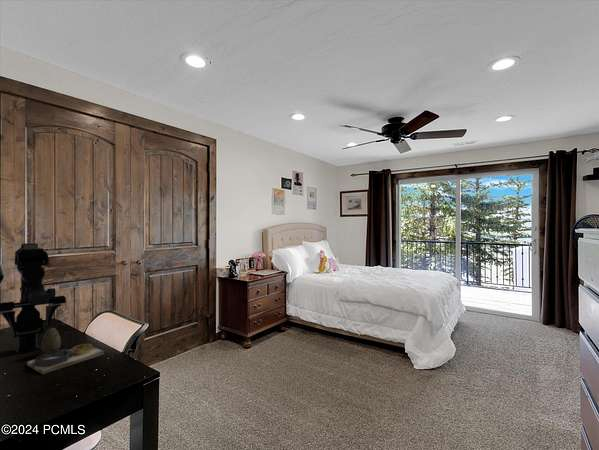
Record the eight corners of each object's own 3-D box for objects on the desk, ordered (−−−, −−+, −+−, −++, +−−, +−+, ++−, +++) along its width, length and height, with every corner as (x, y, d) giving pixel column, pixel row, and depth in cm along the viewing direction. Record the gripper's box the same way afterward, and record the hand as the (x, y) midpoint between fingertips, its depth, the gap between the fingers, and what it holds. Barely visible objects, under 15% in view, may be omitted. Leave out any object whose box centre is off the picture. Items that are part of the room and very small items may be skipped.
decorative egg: (39, 358, 112) (40, 331, 112) (41, 353, 117) (42, 327, 117) (60, 354, 116) (60, 328, 116) (61, 349, 120) (61, 324, 121)
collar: (31, 363, 106) (31, 356, 106) (63, 354, 115) (63, 347, 115) (42, 370, 101) (43, 363, 101) (75, 360, 110) (75, 353, 110)
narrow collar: (69, 354, 115) (69, 347, 115) (87, 348, 120) (87, 342, 120) (77, 357, 112) (77, 350, 112) (94, 352, 117) (95, 345, 117)
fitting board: (27, 365, 107) (27, 361, 107) (87, 347, 123) (87, 344, 123) (42, 374, 100) (42, 370, 100) (103, 354, 116) (103, 351, 116)
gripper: (4, 284, 95) (3, 336, 93) (73, 279, 111) (73, 322, 109) (-8, 287, 101) (-9, 335, 99) (59, 281, 117) (59, 322, 115)
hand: (31, 328), depth 105 cm, fingers open, 9 cm apart
